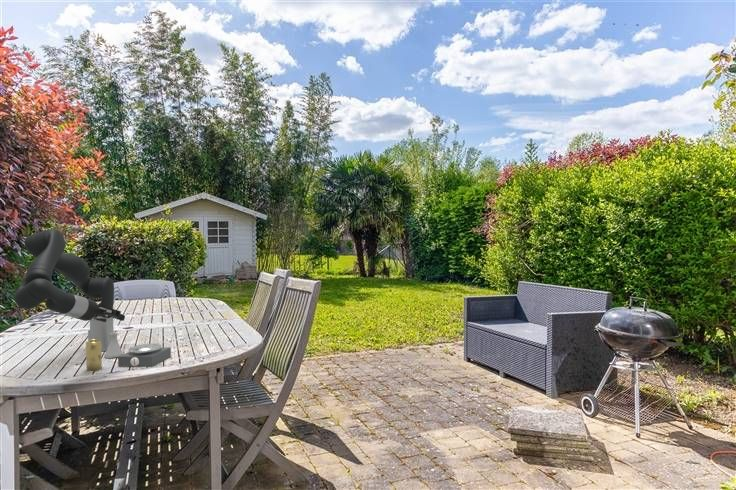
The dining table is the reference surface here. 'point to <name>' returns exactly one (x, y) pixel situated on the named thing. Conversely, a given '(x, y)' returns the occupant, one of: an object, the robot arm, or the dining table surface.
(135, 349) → the scale pan
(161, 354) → the base
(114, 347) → the flask
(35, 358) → the dining table surface
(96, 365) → the brass weight
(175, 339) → the dining table surface
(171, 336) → the dining table surface
